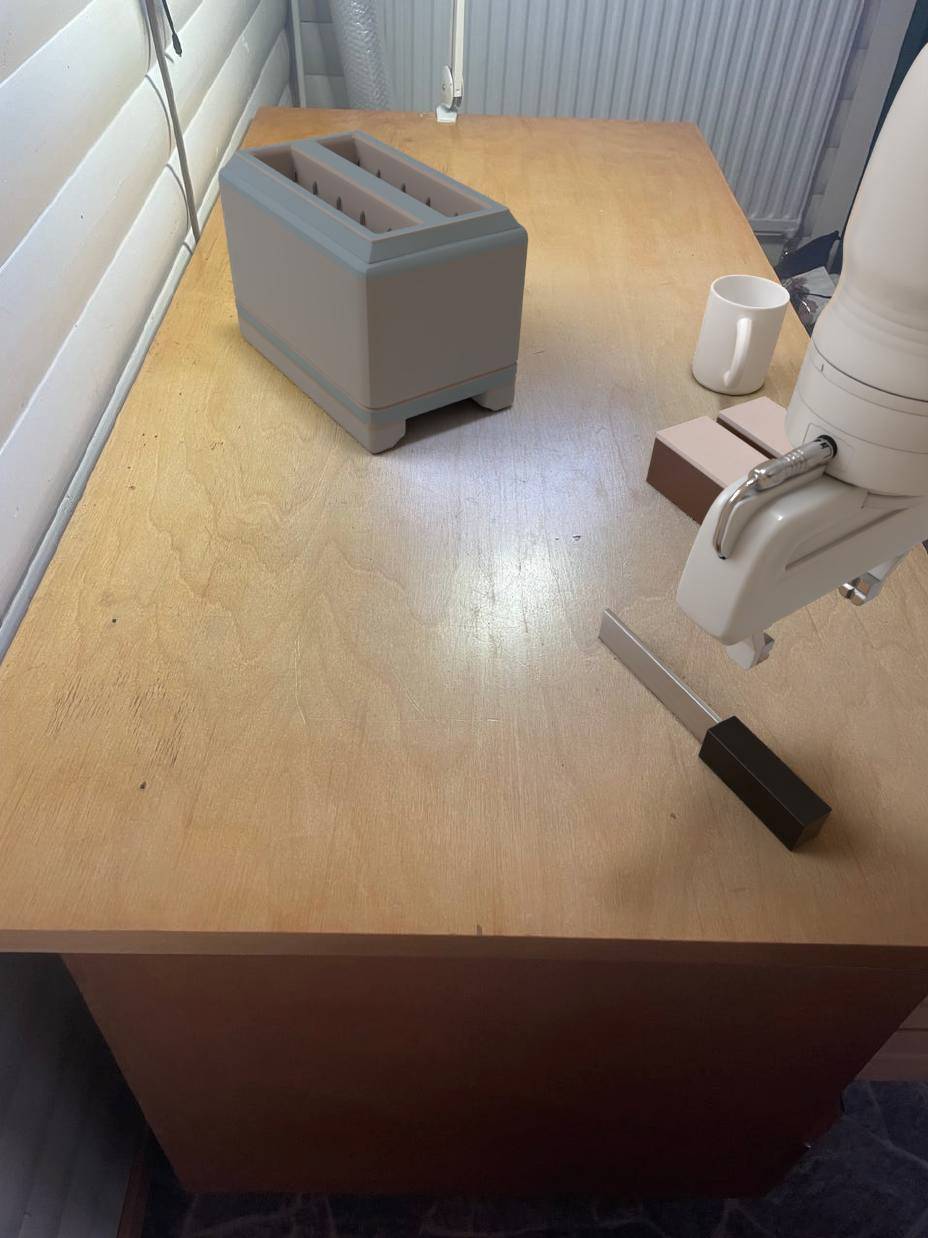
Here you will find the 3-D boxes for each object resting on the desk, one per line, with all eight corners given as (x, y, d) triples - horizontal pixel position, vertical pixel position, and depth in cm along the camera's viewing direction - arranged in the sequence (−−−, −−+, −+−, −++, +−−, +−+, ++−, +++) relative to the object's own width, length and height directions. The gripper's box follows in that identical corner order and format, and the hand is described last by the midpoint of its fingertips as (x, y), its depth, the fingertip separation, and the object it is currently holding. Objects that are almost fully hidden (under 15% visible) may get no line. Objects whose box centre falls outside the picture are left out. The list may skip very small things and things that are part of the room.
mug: (763, 419, 98) (791, 329, 91) (686, 407, 99) (707, 317, 92) (764, 366, 106) (789, 280, 99) (692, 355, 107) (712, 269, 100)
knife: (818, 835, 60) (833, 809, 58) (790, 852, 59) (804, 826, 57) (613, 630, 73) (619, 603, 71) (587, 641, 72) (592, 614, 70)
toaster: (357, 290, 117) (350, 114, 102) (519, 407, 98) (537, 210, 84) (222, 325, 108) (194, 138, 94) (370, 459, 89) (362, 251, 75)
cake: (855, 516, 86) (876, 467, 82) (746, 563, 80) (763, 511, 76) (750, 443, 94) (765, 395, 90) (645, 480, 89) (656, 431, 85)
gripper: (793, 519, 36) (713, 741, 45) (1073, 384, 44) (957, 594, 54) (679, 443, 39) (627, 663, 49) (959, 331, 48) (869, 537, 58)
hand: (802, 626), depth 52 cm, fingers open, 8 cm apart
